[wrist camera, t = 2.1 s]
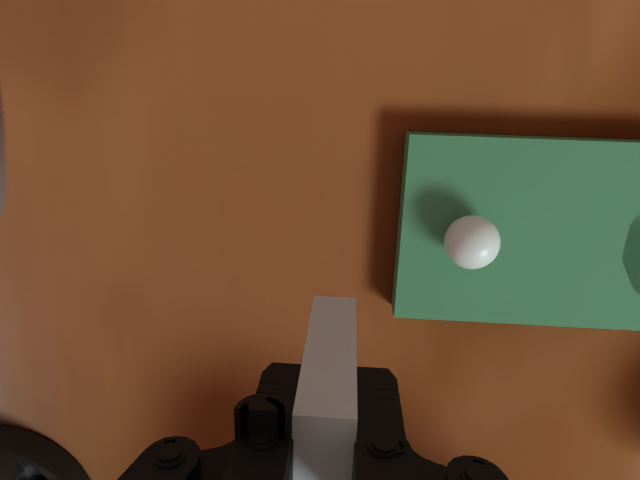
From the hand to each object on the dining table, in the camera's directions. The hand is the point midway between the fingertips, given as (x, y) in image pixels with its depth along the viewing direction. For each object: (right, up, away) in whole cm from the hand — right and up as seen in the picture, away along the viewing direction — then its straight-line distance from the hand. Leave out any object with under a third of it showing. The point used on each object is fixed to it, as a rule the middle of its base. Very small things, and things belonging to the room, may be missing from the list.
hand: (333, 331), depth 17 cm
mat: (+17, +4, +14) cm, 22 cm away
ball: (+9, +3, +11) cm, 14 cm away
